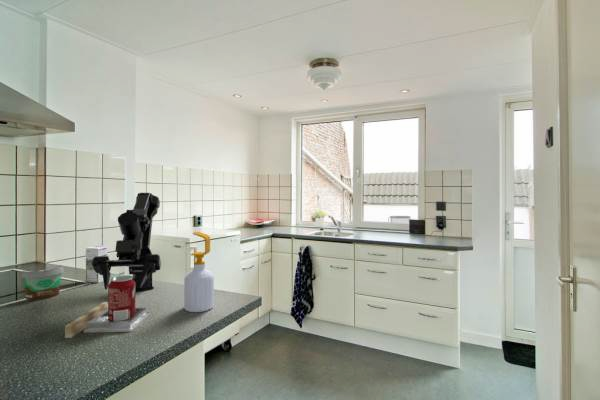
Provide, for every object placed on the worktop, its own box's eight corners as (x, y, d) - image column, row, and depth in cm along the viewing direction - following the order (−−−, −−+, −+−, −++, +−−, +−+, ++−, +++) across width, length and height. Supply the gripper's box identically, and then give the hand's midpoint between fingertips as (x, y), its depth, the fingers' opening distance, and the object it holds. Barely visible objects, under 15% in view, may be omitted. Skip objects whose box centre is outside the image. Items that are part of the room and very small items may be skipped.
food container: (28, 303, 106) (27, 273, 106) (20, 300, 110) (20, 271, 110) (70, 294, 117) (70, 266, 117) (62, 291, 120) (62, 264, 120)
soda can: (130, 324, 89) (131, 280, 89) (104, 325, 88) (104, 281, 88) (138, 315, 96) (138, 274, 95) (113, 316, 94) (113, 275, 94)
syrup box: (108, 279, 137) (108, 245, 137) (98, 283, 131) (98, 247, 131) (95, 279, 138) (95, 245, 138) (85, 282, 132) (85, 247, 132)
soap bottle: (190, 302, 109) (190, 230, 109) (217, 303, 109) (217, 230, 108) (179, 312, 100) (180, 233, 100) (208, 313, 100) (209, 234, 99)
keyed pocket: (107, 315, 97) (107, 307, 97) (148, 314, 98) (148, 307, 98) (84, 332, 85) (83, 323, 85) (131, 331, 86) (131, 323, 86)
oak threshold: (103, 311, 100) (103, 302, 100) (108, 311, 100) (108, 302, 100) (65, 337, 82) (64, 326, 82) (71, 337, 82) (71, 325, 82)
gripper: (93, 230, 98) (79, 275, 88) (159, 229, 103) (153, 271, 93) (101, 251, 106) (89, 295, 96) (163, 249, 111) (158, 290, 101)
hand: (123, 287), depth 96 cm, fingers open, 9 cm apart
